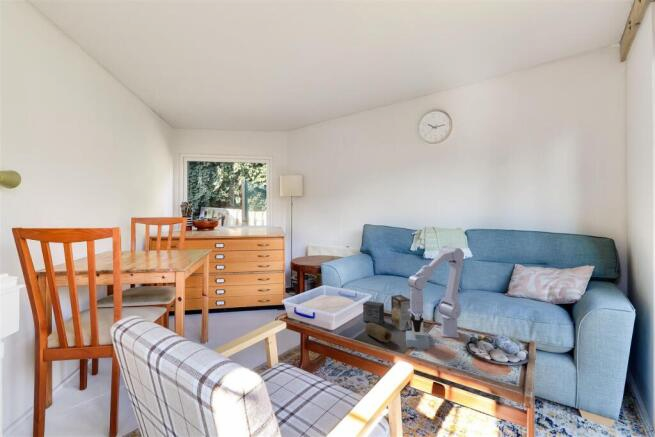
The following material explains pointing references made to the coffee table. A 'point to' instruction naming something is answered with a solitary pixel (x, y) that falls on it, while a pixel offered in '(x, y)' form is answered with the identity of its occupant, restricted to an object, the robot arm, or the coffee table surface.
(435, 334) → the coffee table surface
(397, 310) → the coffee box
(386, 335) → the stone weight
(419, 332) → the cube
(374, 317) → the small box
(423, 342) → the base block
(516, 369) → the coffee table surface
